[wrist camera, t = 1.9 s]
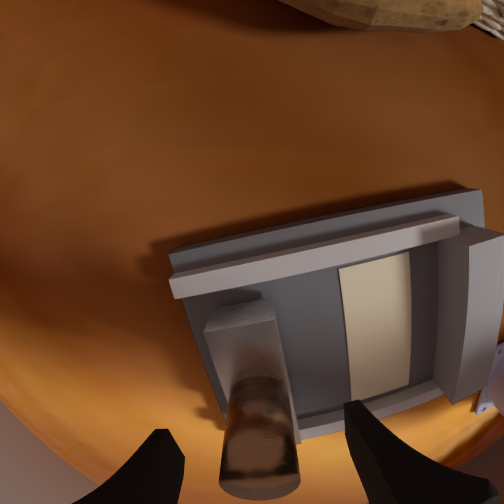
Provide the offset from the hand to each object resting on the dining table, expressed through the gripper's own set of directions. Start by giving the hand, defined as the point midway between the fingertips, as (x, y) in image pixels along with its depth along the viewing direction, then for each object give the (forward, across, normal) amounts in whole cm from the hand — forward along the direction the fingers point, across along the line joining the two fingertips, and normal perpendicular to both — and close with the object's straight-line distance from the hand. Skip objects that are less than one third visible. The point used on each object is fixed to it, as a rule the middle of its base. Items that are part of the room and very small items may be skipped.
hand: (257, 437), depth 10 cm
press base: (+7, -6, 0) cm, 9 cm away
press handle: (+5, 0, 0) cm, 5 cm away
